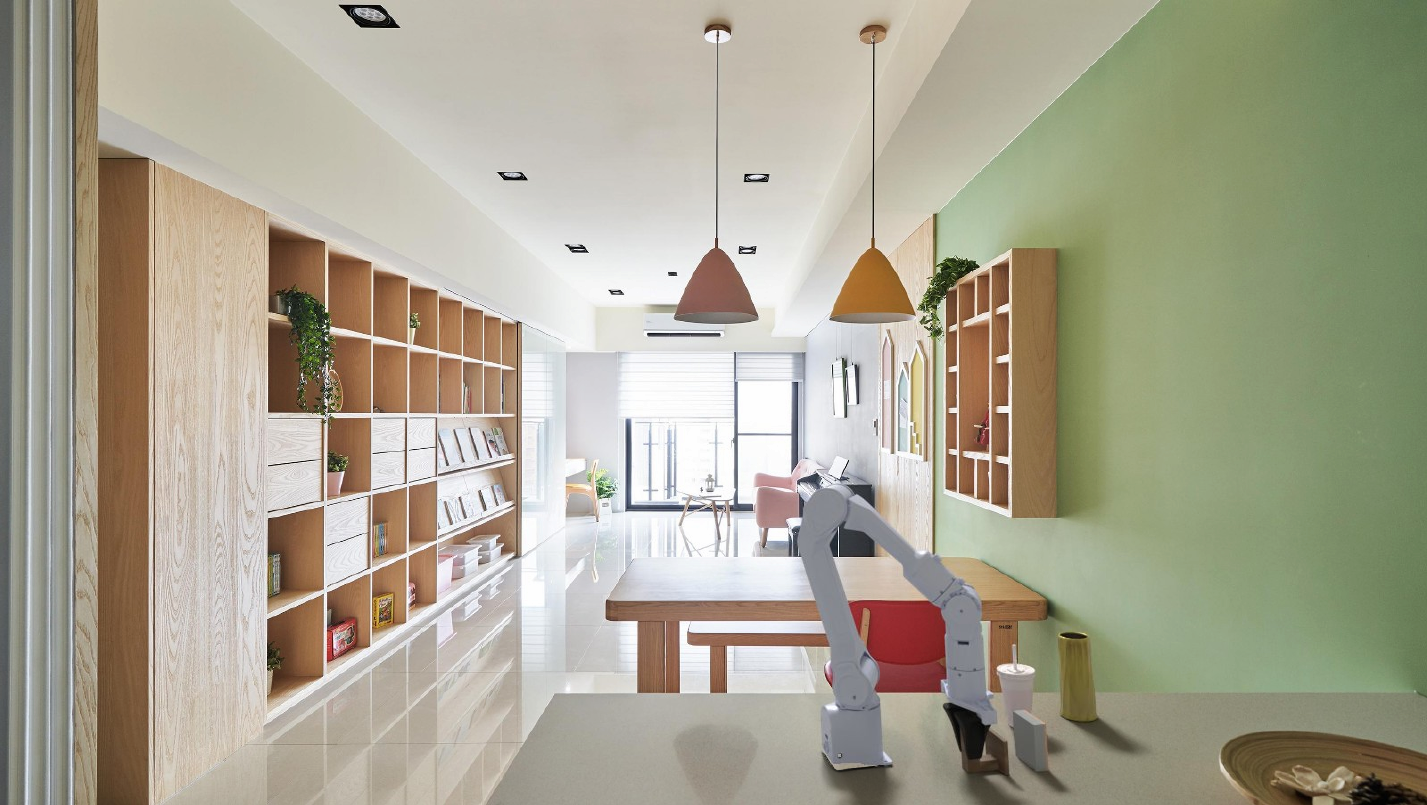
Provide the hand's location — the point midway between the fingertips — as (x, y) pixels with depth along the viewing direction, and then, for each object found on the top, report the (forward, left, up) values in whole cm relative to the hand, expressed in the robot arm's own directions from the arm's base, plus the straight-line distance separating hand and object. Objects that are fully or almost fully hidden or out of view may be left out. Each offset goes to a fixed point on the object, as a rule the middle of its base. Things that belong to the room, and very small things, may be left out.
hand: (970, 754), depth 117 cm
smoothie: (+16, +14, -2) cm, 21 cm away
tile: (+10, 0, -2) cm, 10 cm away
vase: (+28, +15, -2) cm, 32 cm away
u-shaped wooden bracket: (+2, 0, -2) cm, 3 cm away
